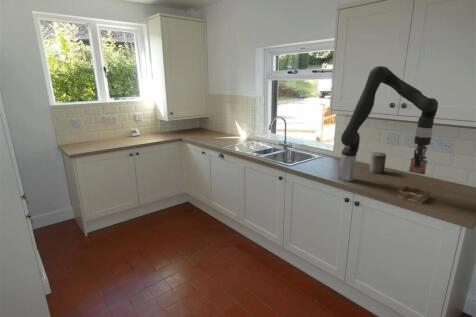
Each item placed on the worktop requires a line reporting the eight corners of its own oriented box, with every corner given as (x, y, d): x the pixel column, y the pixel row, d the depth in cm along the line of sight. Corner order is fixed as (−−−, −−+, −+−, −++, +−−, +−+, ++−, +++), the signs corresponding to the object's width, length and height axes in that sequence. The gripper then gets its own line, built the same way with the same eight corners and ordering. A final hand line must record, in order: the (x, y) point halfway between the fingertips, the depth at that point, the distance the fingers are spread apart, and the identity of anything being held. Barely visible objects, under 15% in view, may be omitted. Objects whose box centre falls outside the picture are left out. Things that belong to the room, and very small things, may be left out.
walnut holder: (396, 196, 167) (397, 190, 166) (404, 190, 175) (405, 185, 174) (421, 203, 158) (422, 197, 157) (428, 197, 166) (430, 191, 165)
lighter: (408, 171, 164) (410, 154, 161) (409, 170, 166) (412, 153, 164) (424, 174, 159) (427, 157, 156) (425, 173, 161) (429, 156, 158)
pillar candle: (386, 172, 208) (389, 152, 205) (377, 174, 204) (380, 154, 201) (375, 169, 217) (377, 149, 213) (366, 170, 213) (368, 151, 209)
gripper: (419, 132, 164) (414, 161, 169) (411, 136, 155) (406, 166, 160) (435, 134, 159) (429, 164, 163) (427, 138, 150) (421, 169, 154)
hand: (417, 165), depth 161 cm, fingers closed on lighter, 3 cm apart
